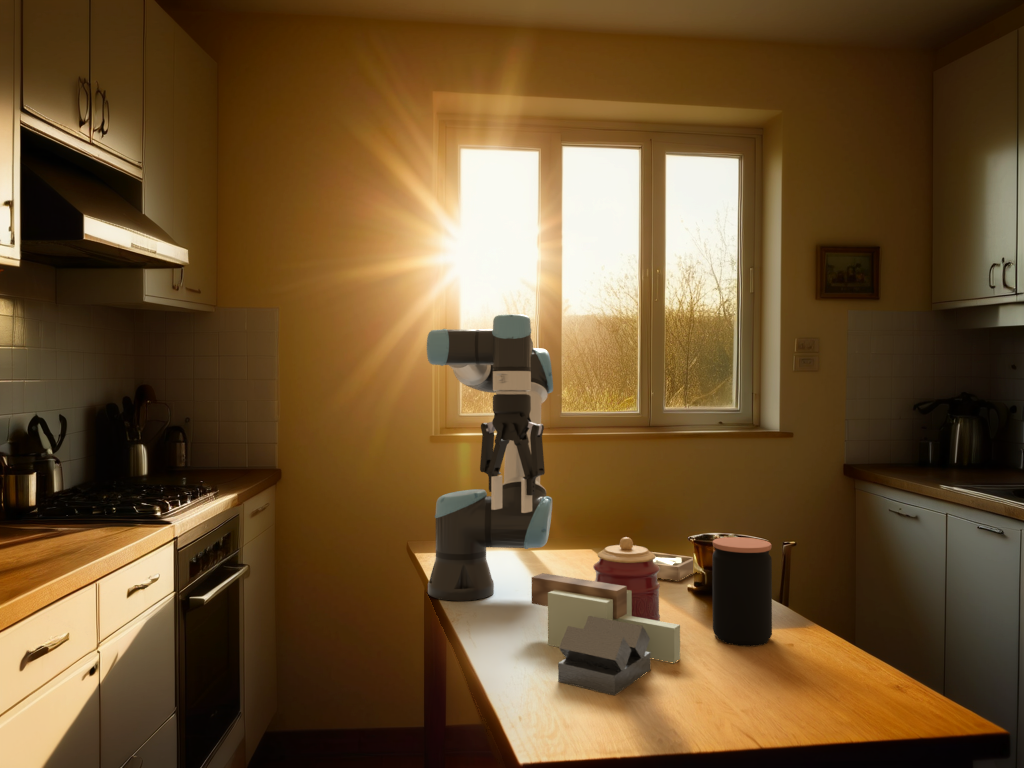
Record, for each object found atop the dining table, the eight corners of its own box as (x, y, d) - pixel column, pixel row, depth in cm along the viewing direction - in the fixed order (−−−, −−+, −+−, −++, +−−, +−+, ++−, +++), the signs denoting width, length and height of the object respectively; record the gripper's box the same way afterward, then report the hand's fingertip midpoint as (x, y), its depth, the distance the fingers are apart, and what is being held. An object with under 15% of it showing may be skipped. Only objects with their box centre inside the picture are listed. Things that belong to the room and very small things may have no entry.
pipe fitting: (681, 578, 196) (681, 570, 203) (681, 563, 196) (681, 555, 203) (649, 577, 198) (650, 569, 204) (649, 562, 198) (650, 554, 204)
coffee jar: (772, 632, 150) (771, 538, 150) (771, 650, 140) (771, 549, 140) (715, 627, 153) (714, 535, 154) (710, 643, 143) (710, 545, 143)
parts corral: (626, 573, 198) (626, 560, 198) (647, 564, 209) (647, 551, 209) (678, 581, 190) (678, 567, 190) (697, 571, 201) (697, 557, 201)
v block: (558, 681, 124) (558, 630, 125) (597, 658, 135) (597, 611, 135) (614, 695, 119) (614, 641, 119) (650, 670, 130) (650, 621, 130)
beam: (547, 644, 143) (547, 592, 143) (575, 630, 151) (575, 581, 151) (665, 670, 130) (665, 612, 130) (688, 653, 138) (688, 599, 138)
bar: (531, 603, 148) (531, 577, 148) (542, 598, 152) (542, 573, 152) (616, 619, 138) (616, 590, 138) (626, 613, 141) (626, 586, 141)
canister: (618, 641, 145) (618, 546, 145) (580, 622, 156) (580, 534, 156) (673, 631, 151) (673, 539, 151) (633, 614, 162) (633, 529, 162)
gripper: (461, 393, 156) (461, 508, 156) (543, 393, 145) (543, 517, 145) (483, 393, 162) (483, 504, 162) (563, 393, 151) (563, 512, 151)
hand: (511, 510), depth 154 cm, fingers open, 6 cm apart
